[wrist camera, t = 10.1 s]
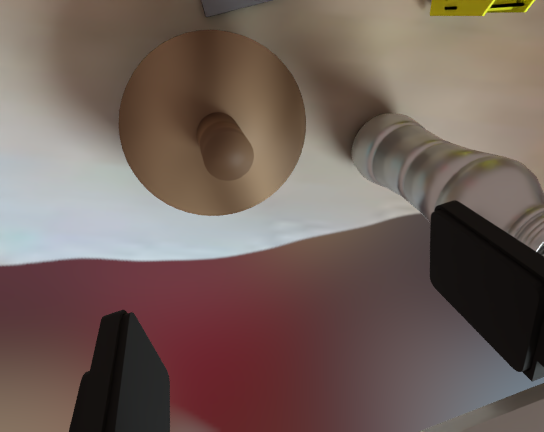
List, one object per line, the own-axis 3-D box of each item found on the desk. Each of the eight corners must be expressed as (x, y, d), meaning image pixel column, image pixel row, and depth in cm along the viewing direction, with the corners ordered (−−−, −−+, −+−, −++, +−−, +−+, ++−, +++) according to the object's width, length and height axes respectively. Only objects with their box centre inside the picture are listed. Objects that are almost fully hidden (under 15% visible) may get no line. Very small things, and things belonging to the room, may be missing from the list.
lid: (282, 7, 24) (315, 5, 19) (312, 181, 31) (343, 215, 26) (85, 59, 23) (61, 72, 18) (161, 229, 30) (161, 275, 24)
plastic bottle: (332, 139, 35) (490, 254, 18) (389, 92, 34) (610, 168, 17) (362, 184, 39) (519, 319, 22) (415, 143, 38) (621, 248, 21)
